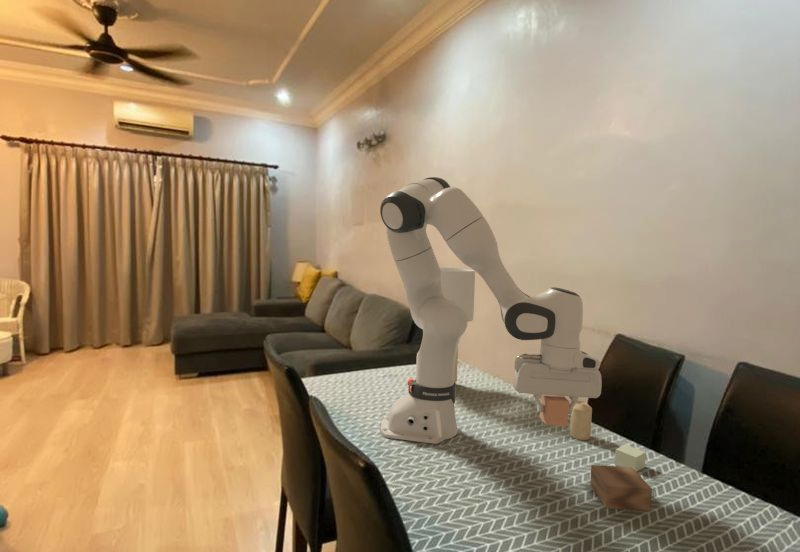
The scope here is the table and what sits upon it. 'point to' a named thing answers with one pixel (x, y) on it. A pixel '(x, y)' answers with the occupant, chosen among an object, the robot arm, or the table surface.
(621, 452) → the sage block
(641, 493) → the walnut block
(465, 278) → the lamp
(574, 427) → the candle
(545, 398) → the terracotta block
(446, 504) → the table surface
